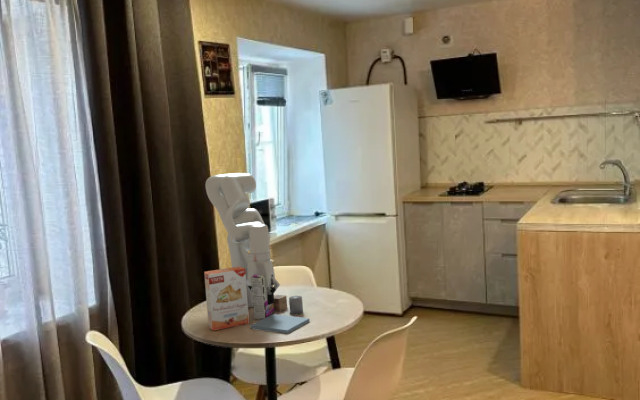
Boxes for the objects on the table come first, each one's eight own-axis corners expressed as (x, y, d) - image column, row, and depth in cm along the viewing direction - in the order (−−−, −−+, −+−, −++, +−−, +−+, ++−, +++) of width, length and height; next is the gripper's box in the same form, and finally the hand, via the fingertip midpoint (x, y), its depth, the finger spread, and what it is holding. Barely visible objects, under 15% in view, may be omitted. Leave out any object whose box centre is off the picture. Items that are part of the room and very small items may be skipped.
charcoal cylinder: (287, 313, 218) (286, 298, 218) (294, 310, 223) (293, 295, 222) (298, 315, 216) (297, 299, 215) (305, 311, 220) (304, 296, 220)
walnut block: (269, 310, 225) (268, 297, 225) (277, 306, 230) (276, 294, 229) (280, 311, 223) (279, 298, 222) (287, 307, 227) (286, 295, 227)
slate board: (250, 328, 203) (250, 325, 203) (273, 317, 215) (273, 314, 215) (287, 333, 195) (287, 330, 195) (309, 321, 207) (309, 318, 207)
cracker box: (213, 331, 203) (208, 274, 201) (208, 327, 208) (203, 271, 206) (250, 323, 209) (245, 267, 207) (244, 319, 214) (240, 265, 212)
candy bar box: (262, 310, 225) (260, 269, 223) (275, 310, 224) (272, 269, 222) (253, 319, 214) (250, 276, 212) (266, 319, 213) (263, 276, 211)
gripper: (236, 257, 218) (239, 303, 220) (272, 260, 209) (276, 307, 211) (248, 253, 224) (252, 298, 226) (284, 255, 215) (287, 302, 217)
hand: (263, 302), depth 218 cm, fingers closed on candy bar box, 6 cm apart
